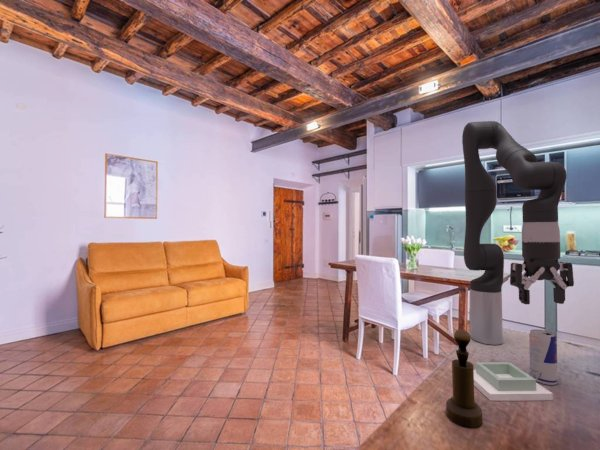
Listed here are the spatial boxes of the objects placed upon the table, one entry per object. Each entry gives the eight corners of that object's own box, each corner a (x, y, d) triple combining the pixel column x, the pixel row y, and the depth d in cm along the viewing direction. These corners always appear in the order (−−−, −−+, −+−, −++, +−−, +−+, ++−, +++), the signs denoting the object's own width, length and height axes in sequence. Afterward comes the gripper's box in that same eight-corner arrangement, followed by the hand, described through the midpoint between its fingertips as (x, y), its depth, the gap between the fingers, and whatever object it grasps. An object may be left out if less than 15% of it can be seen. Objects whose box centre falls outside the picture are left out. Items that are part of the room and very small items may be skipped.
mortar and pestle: (450, 403, 64) (448, 322, 64) (484, 415, 60) (482, 329, 60) (442, 419, 59) (441, 331, 59) (479, 433, 55) (477, 338, 55)
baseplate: (463, 375, 76) (462, 360, 76) (516, 375, 76) (516, 359, 76) (490, 400, 65) (490, 383, 65) (552, 400, 65) (552, 382, 65)
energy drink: (563, 385, 70) (562, 336, 70) (541, 385, 70) (540, 336, 70) (545, 374, 76) (544, 329, 76) (525, 374, 76) (523, 329, 76)
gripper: (555, 239, 77) (556, 299, 77) (502, 239, 77) (503, 300, 77) (582, 240, 70) (584, 307, 69) (523, 241, 70) (525, 307, 70)
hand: (541, 303), depth 73 cm, fingers open, 8 cm apart
